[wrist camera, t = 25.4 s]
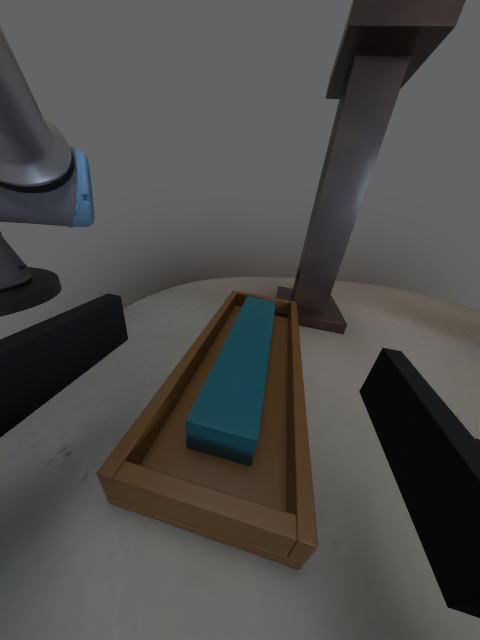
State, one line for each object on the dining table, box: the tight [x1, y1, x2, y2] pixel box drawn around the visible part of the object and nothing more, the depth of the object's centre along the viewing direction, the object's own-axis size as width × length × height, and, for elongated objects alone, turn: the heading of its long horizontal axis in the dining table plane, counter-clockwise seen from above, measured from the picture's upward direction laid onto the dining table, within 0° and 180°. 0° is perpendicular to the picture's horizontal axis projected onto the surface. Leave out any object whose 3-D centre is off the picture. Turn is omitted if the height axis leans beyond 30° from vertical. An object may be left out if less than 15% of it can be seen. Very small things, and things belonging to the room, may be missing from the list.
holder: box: [97, 291, 318, 569], centre depth 20 cm, size 10×26×3 cm, turn 168°
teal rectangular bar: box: [186, 296, 276, 466], centre depth 20 cm, size 4×20×2 cm, turn 169°
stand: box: [274, 0, 466, 333], centre depth 28 cm, size 10×12×30 cm
